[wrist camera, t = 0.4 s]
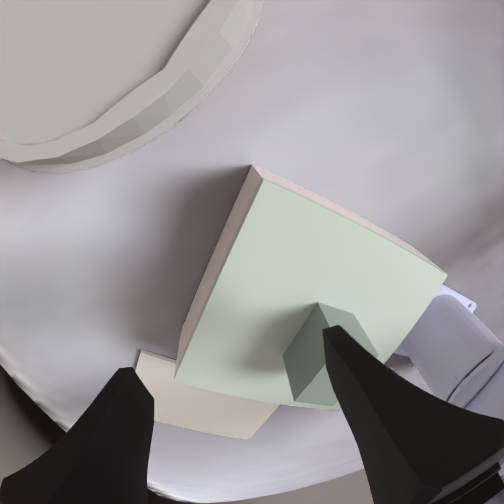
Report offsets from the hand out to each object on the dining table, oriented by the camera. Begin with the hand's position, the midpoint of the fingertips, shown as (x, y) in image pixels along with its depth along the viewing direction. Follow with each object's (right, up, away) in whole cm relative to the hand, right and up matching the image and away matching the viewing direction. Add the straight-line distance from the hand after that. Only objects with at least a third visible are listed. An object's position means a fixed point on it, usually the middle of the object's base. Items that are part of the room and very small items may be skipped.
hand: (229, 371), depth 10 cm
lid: (+4, 0, +7) cm, 8 cm away
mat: (-4, -10, +15) cm, 19 cm away
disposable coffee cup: (-5, +15, +4) cm, 16 cm away
